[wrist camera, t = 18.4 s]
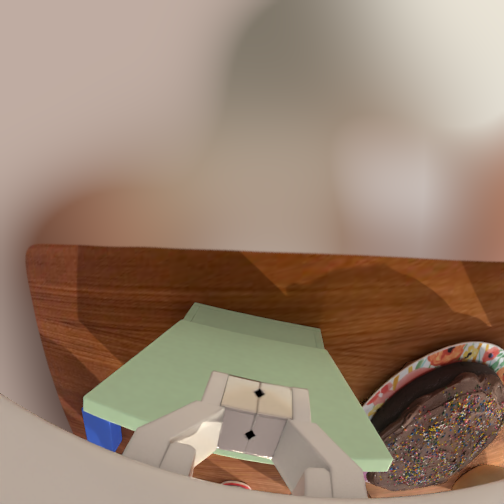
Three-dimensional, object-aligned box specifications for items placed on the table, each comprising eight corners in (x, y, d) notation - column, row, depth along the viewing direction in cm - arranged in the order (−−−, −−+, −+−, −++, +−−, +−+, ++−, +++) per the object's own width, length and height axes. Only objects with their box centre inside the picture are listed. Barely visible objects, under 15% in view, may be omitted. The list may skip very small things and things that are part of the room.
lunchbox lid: (387, 472, 11) (394, 458, 11) (82, 411, 11) (82, 396, 11) (324, 357, 28) (326, 349, 28) (179, 327, 29) (181, 319, 29)
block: (122, 439, 41) (113, 454, 37) (97, 429, 41) (87, 443, 38) (119, 405, 39) (109, 420, 36) (92, 394, 39) (81, 408, 36)
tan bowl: (411, 505, 41) (424, 551, 29) (474, 444, 36) (500, 493, 25) (466, 502, 41) (481, 540, 29) (522, 447, 36) (546, 484, 25)
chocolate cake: (538, 342, 31) (562, 363, 25) (457, 473, 38) (468, 497, 32) (386, 324, 33) (405, 355, 26) (315, 479, 39) (317, 512, 33)
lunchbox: (283, 434, 37) (282, 460, 33) (181, 413, 38) (171, 437, 33) (320, 328, 33) (325, 351, 29) (194, 301, 34) (181, 321, 29)
